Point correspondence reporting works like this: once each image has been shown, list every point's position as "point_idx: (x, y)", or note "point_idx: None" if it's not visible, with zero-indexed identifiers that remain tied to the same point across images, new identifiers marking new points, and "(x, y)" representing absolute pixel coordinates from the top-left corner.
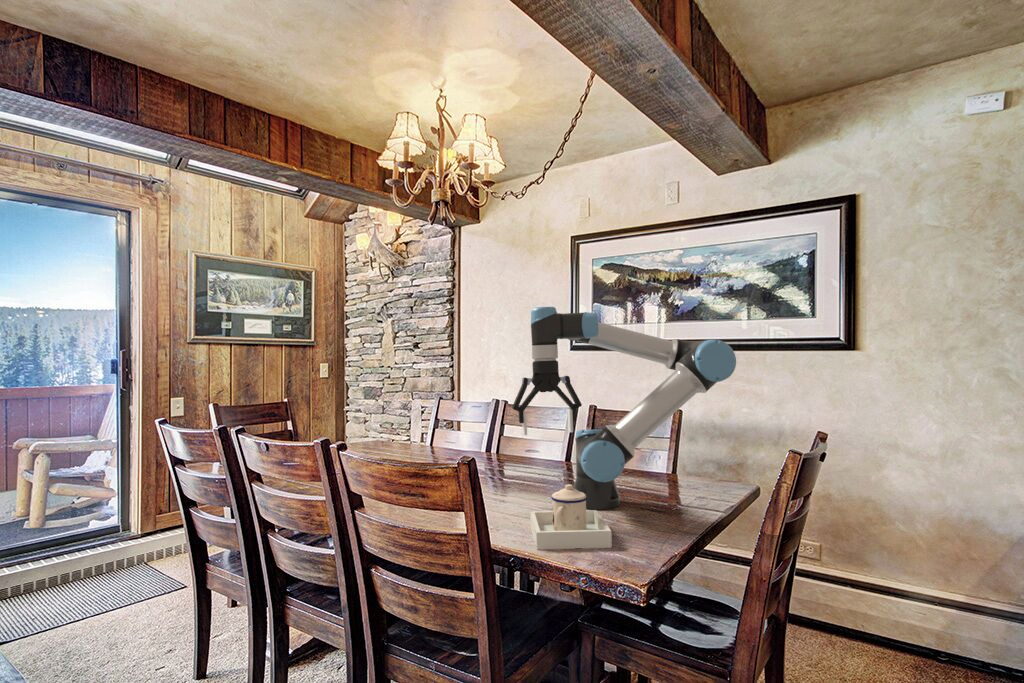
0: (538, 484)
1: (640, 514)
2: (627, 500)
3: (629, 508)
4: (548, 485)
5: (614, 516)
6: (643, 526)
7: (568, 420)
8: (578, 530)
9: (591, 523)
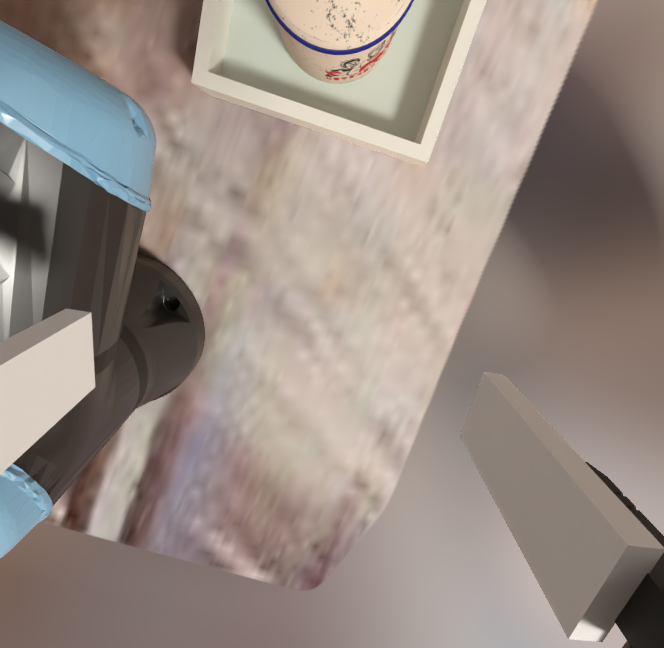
0: (227, 547)
1: None
2: None
3: None
4: (203, 531)
5: None
6: (53, 10)
7: (20, 427)
8: None
9: (232, 71)
